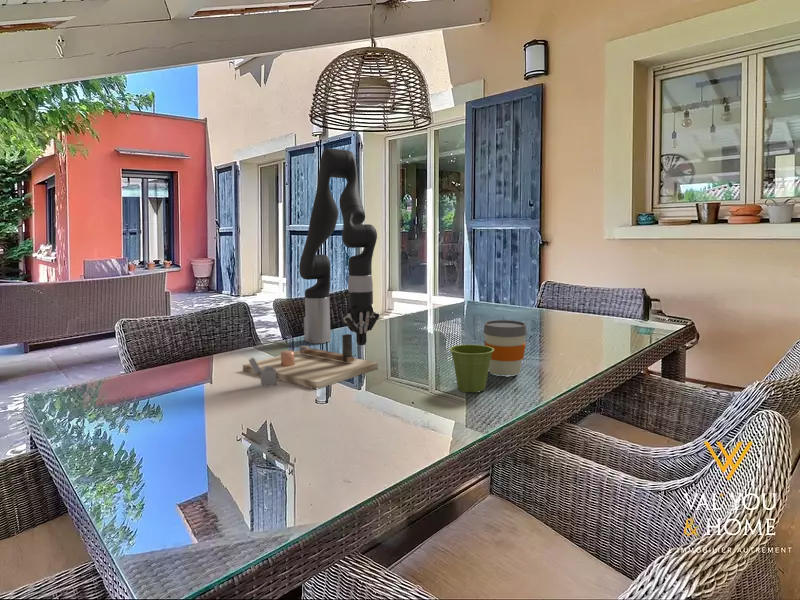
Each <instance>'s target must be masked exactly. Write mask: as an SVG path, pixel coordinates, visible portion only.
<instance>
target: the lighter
mask: <svg viewBox="0 0 800 600" xmlns="http://www.w3.org/2000/svg"><path fill="white" fill-rule="evenodd" d="M248 362H249V363H250V364H251V365H252V367H253V369H254V371H255V372H256V374H257V373H259V372H260V371H261V376H260V387H270V386H269V385H273V386H277V384H278V383H277V379H276V369H273V367H271V366H265V370H260V368H259V366H258V365H257V363H256V359H255V358H254V357H252V358H249V359H248ZM256 374H255V375H256Z"/></svg>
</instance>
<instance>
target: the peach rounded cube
mask: <svg viewBox="0 0 800 600" xmlns="http://www.w3.org/2000/svg"><path fill="white" fill-rule="evenodd" d="M294 352H295V351H294V350H282V351H281V352H280V355H281V366H293V365H295V361H294Z"/></svg>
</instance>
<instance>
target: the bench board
mask: <svg viewBox="0 0 800 600" xmlns="http://www.w3.org/2000/svg"><path fill="white" fill-rule="evenodd" d="M255 361H256V360H255ZM294 361H295V365H293V366H281V354H279V355H277V356H273V357H269V358H265V359H261V360H257V361H256V363H257V365H258V366H259V368H260V370H265V366H271V367H273V369H276V380H277V379H278V381H281V380H282V381H281V382H285V383H290V384H293V385H296V386H301V385H303V386H302V387H305V386H307V387H306V388H309V387H312V388H311V389H313V388H320V389H322V388H321V387H323V388H326V387H329V386H331V385H332V386H333V385H334V384H337V383H340V382H343V381H346V380H348V379H353V378H356V377H357V376H361V375H364V374H367V373H369V372H372V371H375V370H378V367H379V365H378V362H376V361H371V360H367V359H366V360H365V359H361V358H356V357H354V361H352V362H343V361H339V360H334V359H329V358H323V357H318V356H313V355H308V354H301V353H300V350H296V351H294ZM242 372H245V373H248V374H253V375H258V376H260V377H261V371H260V372H259V373H257V374H256V372H255V371H254V369H253V367H252V365H251V364H250V362H249V363H245V364H242ZM328 385H329V386H328ZM325 386H326V387H325Z"/></svg>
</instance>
